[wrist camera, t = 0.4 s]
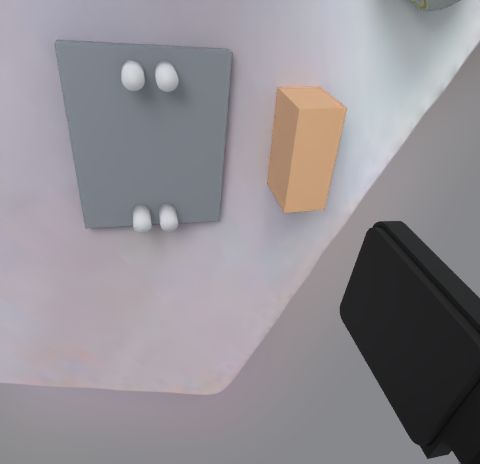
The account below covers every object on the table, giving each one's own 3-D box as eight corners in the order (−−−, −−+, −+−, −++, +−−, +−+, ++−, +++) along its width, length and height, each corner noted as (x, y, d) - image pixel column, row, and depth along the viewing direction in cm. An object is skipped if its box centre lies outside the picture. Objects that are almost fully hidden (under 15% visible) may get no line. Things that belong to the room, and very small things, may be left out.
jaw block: (277, 86, 43) (299, 109, 38) (319, 86, 44) (346, 107, 39) (266, 182, 50) (284, 212, 45) (303, 180, 51) (324, 209, 46)
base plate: (56, 40, 36) (49, 51, 32) (228, 49, 39) (239, 60, 36) (86, 221, 47) (83, 244, 44) (216, 214, 51) (223, 235, 48)
